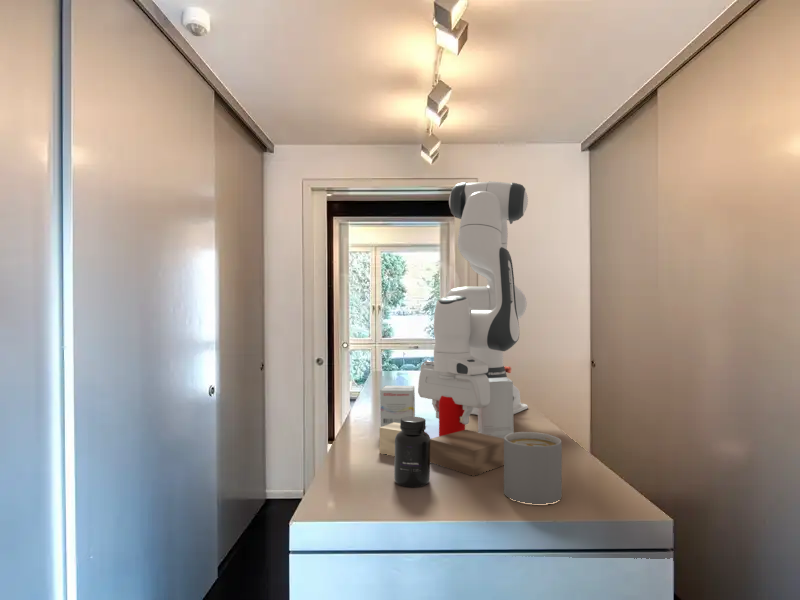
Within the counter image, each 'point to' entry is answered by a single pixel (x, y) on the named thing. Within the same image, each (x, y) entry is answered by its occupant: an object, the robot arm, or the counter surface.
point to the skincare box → (498, 409)
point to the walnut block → (467, 452)
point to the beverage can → (449, 416)
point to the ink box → (396, 403)
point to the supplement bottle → (412, 453)
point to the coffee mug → (533, 467)
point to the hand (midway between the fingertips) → (452, 421)
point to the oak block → (388, 438)
